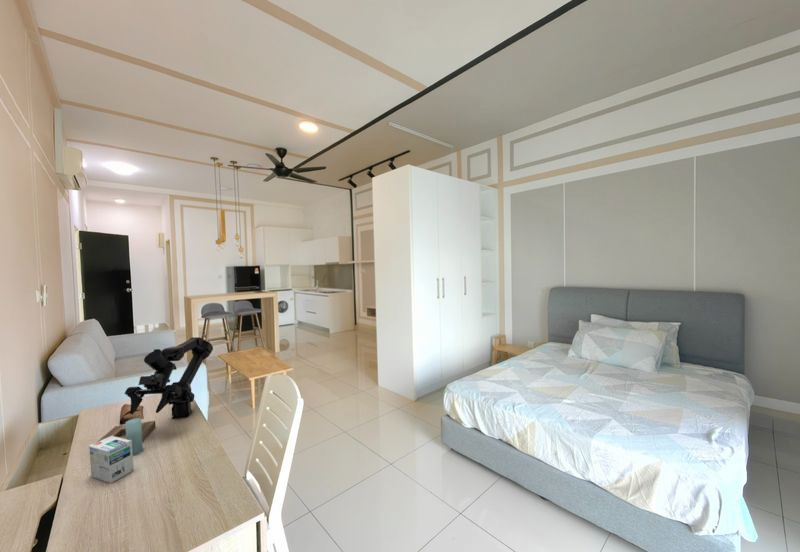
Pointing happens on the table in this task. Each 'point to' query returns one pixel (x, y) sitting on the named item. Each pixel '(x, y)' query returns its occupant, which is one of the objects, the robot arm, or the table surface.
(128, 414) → the sunglasses case
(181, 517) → the table surface
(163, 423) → the table surface
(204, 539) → the table surface
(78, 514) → the table surface
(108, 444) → the light bulb box
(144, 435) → the brown flat square frame
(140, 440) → the stool leg
